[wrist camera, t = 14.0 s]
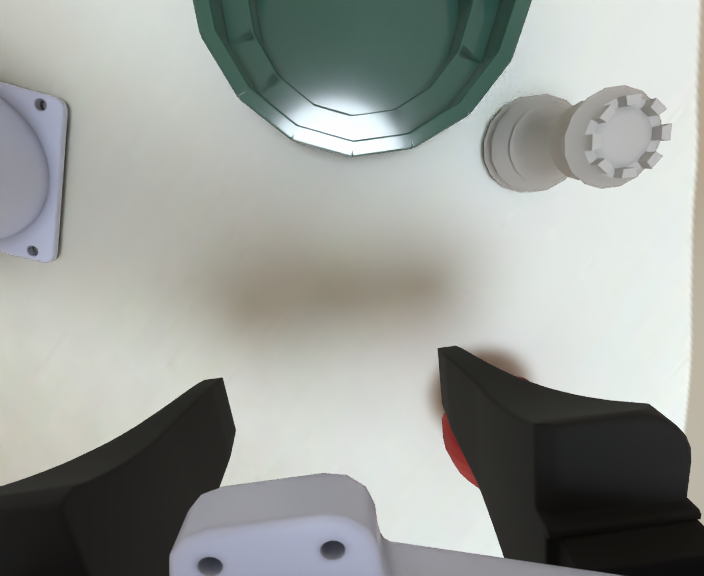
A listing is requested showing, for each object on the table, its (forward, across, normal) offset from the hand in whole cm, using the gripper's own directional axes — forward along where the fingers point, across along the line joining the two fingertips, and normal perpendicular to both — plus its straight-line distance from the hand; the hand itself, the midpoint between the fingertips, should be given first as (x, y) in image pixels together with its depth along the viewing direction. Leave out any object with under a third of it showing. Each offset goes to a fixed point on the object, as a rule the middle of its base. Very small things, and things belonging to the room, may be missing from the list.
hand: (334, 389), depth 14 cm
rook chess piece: (+10, -10, -7) cm, 16 cm away
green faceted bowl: (+10, -3, -13) cm, 17 cm away
